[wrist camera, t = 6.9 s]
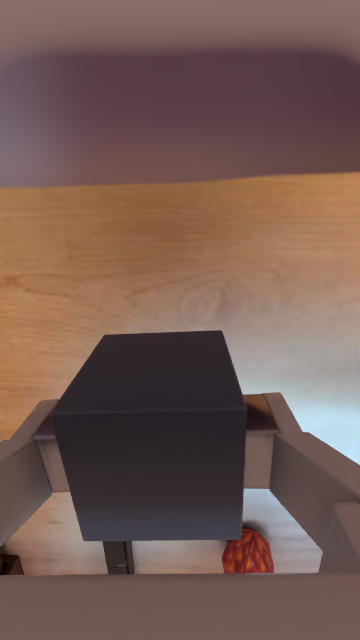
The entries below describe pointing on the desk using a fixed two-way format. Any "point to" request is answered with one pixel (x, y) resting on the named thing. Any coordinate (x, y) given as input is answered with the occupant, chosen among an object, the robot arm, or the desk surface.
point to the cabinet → (12, 565)
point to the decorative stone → (248, 554)
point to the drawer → (1, 567)
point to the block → (155, 439)
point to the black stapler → (118, 557)
